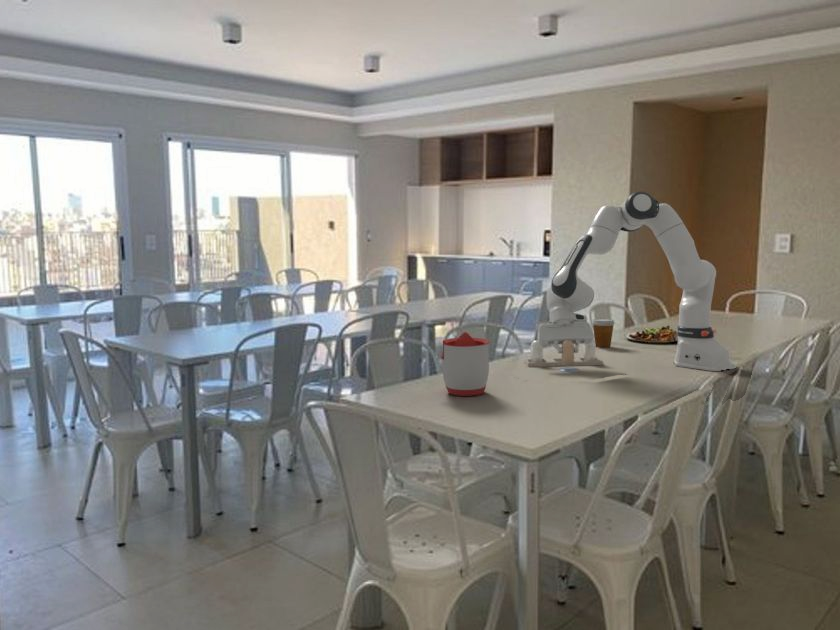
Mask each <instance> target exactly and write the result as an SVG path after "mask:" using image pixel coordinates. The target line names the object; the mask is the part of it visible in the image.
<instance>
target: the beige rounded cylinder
mask: <svg viewBox="0 0 840 630" xmlns="http://www.w3.org/2000/svg"><path fill="white" fill-rule="evenodd" d="M561 347H562V350H563V352H562V353H561V358H562V366H561V367H573V366H574V358H575V353H574V347H575V344H574V343H573V342H572V341H570V340H566V341H564V342H563V343H562V344H561Z"/></svg>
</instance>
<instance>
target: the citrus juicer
mask: <svg viewBox="0 0 840 630" xmlns="http://www.w3.org/2000/svg"><path fill="white" fill-rule="evenodd" d="M489 345H490V340H489V339H486V338H481V337H472V336H471V335H470V334H469V333H468V332H466V331H464V332H463V333H462V334H460V335H459V337H455V338H454V337H453V338H452V337H451V338H446V339H443V340H442V350H440V351H438V352H437V354H436V356H435V359H440V358H441V360H442V361H441V362H442V363H441V367H442V369H441V370H442V375H443V376H442V377H443V381H444V384H445V389H446V391H447V392H448V394H450V395H453V396H454V395H459V396H458V397H460V396H461V397H467V396H470V397H471V396H473V395H478V396H480V395H481V394H483V393H484V392H485V391H486V390H485V389H486V387H487V383H488V378H489V374H490V373H489V371H490V370H489V369H490V368H489V367H490V351H489V349H490V347H489Z"/></svg>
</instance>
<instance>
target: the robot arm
mask: <svg viewBox="0 0 840 630" xmlns="http://www.w3.org/2000/svg"><path fill="white" fill-rule="evenodd" d="M642 226H647V227H648V228H649V229H650V230H651V231H652V232H653V235H654V237H655V238H656V240H657V242H658V243H659V245H660V247H661V249H662V250H663V252H664V254H665V256H666V258H667V261H668V262H669V266H670V269H671V272H672V274H673V277H674V283H675V284H676V286H677V287H678V288H679V289H681V290H682V294H681V295H682V296H681V300H680V303H679V307H678V309H679V310H678V325H677V331H676V332H677V335H678V341H677V345H676V346H677V347H676V351H675V356H674V358H673V363H674V364H675V365H674V366H675V367H681V368H689V369H694V370H695V369H697V370H702V371H709V372H711V371H712V372H721V370H724V371H727V370H726V369H730V370H734V369H736V368H737V363H734V362H731V358H730V357H731V356H730V353H729V350H728V349H727V348H726V347H725V346H724V345H723V344H721V343H720V342H719V340H717V339H716V338H715V334H716V333H717V331H718V330H717V329H714V330H713V328H712V327H711V315H712V312H711V311H712V302H713V296H714V291H715V284H716V282H715V281H716V278H717V269H716V268H715V266H714V265H713V264H712V263H711V262H709V261H708V260H705V259H701V258H700V256H699V253H698V250H697V248H696V245H695V241H694V239H693V237H692V235H691V233H690V232H689V230H688V228H687V227H686V225H685V223H684V222H683V220H682V218H681V217H680V216H679V215H678V213H677V212H676V211H675V209H674V208H673V207H672V206H671V205H670V204H668V203H666V202H663V203H659V201H658V200H657V199H655V198H654V197H653V196H652V195H651V194H650V193H648V192H646V191H643V190H642V191H636V192H634V193H633V192H632V194H630V195H629V196H628V197H627V198H626V199H625V200H624V202H623V203H622V204H621V206H614V205H612V204H610V205H609V204H608V205H603V206H601V207H600V208H599V210H597V213H596V214H595V216H594V217H593V219H592V221H591V223H590V226H589V228H588V230H587V232H586V233H585V234H583V235H581V236H580V237H579V238H578V239H577V240H576V242H575V243H574V244H573V246H572V248H571V250H570V251H569V252H568V255H567V257H566V258H565V260H564V262H563V264H562V265H561V267H560V268H559V270H558V271H557V272H556V273H555V274H554V276H553V277H552V280H551V285H549V287H548V289H547V290H546V296H545V297H546V306H547V310H548V312H549V321H538V322H537V323H536V324H535V326H534V327H535V331H536V332H537V340H538V343H539V344H541V345H543V346H545V345H552V346H553V348H555V350H557V354H562V352H563V350H562V346H560V345H562V343H563V342H564V341H566V340H570V341H572V342H573V343H574V354H578V353H579V347H580V344H581V345H584V344H590V343H591V342H592V341H593V340H595V338H594V330H593V327H592V326H591V324H590V323H589V322H588V317H587V316H586V315H584V314H581V313H575V312H578V311H581V310H584V309H586V308H588V307H590V305H591V304H592V303H593V300H594V297H595V291H594V289H593V288H592V287H591V286H590V285H589V284H587V283H586V282H585V281H583V280H582V279H581V278H580V277H579V276H578V272H579V269H580V267H581V266H582V264H583V262H584V260H585V258H586V257H587V256H588V255H595V256H596V255H598V256H601V255H606V254H608V253H609V252H611V251H612V249H613V248H614V246H615V244H616V242H617V239H618V236H619V234H620V231H622V232H627V233H632V232H636V231H639V229H641V227H642Z"/></svg>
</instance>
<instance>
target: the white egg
mask: <svg viewBox="0 0 840 630" xmlns="http://www.w3.org/2000/svg"><path fill="white" fill-rule="evenodd" d="M543 348H544V345H541V344H539V343H538V339H537V340H533V341H532V342H531V344H530V359H531V362H543V359H544V356H543V355H544V349H543Z"/></svg>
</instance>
